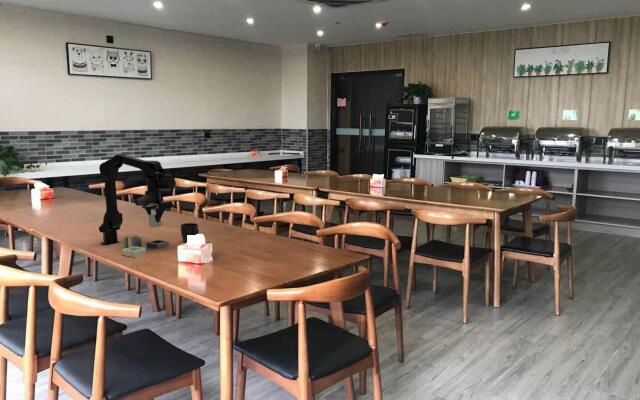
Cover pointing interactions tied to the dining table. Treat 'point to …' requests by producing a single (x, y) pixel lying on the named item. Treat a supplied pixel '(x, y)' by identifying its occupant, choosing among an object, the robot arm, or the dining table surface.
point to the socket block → (147, 245)
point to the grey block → (153, 219)
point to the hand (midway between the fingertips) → (154, 221)
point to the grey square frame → (133, 251)
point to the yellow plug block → (130, 239)
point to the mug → (188, 230)
